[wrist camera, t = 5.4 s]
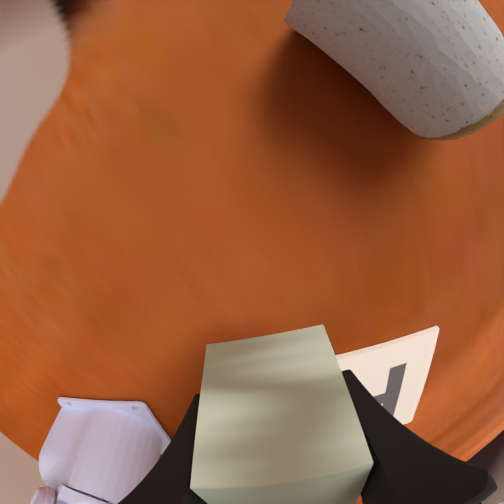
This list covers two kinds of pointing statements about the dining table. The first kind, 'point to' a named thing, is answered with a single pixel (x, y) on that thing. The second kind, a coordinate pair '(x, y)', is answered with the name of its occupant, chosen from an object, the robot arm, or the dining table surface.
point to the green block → (277, 424)
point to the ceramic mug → (415, 58)
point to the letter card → (394, 370)
